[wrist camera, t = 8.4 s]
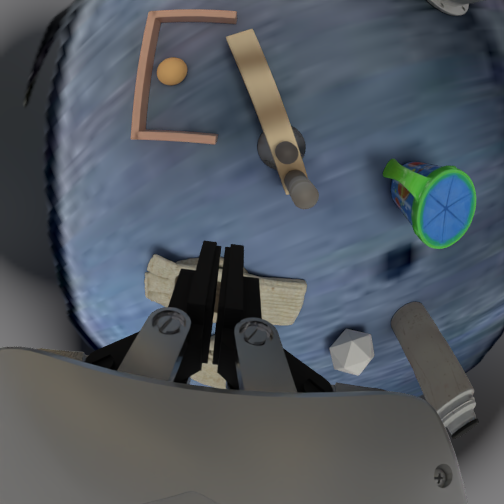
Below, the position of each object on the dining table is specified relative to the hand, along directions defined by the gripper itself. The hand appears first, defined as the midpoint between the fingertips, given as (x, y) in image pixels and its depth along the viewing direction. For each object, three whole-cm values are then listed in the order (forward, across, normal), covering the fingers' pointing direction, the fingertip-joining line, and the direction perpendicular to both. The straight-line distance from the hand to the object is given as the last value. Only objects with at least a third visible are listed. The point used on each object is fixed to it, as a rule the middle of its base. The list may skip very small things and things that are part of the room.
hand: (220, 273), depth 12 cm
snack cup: (+25, -25, -2) cm, 36 cm away
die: (+25, -25, +29) cm, 46 cm away
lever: (+24, -3, -7) cm, 25 cm away
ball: (+25, +10, -11) cm, 29 cm away
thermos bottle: (+25, -37, +23) cm, 51 cm away
